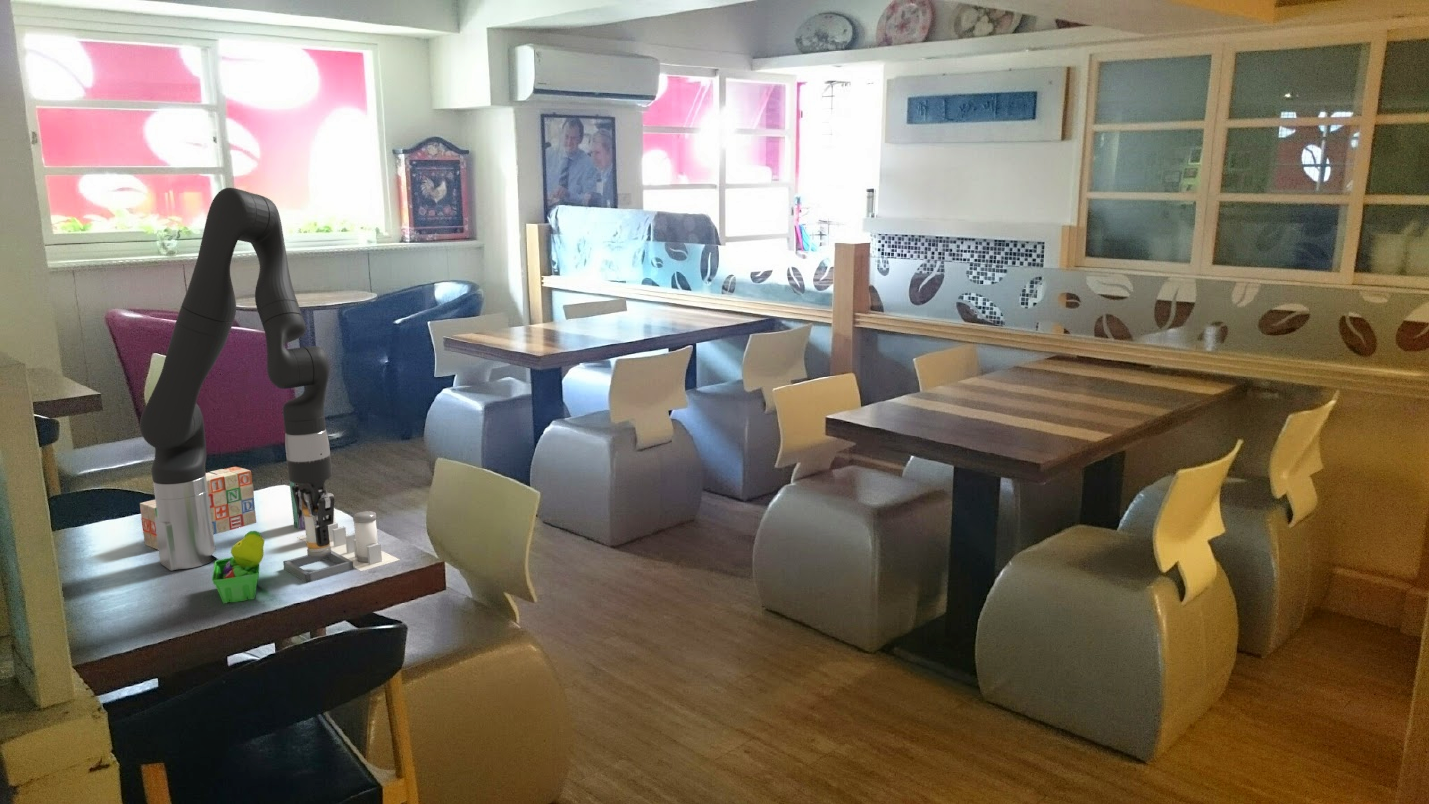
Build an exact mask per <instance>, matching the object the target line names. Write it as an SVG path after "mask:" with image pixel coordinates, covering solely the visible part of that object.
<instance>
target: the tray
mask: <svg viewBox="0 0 1429 804" xmlns="http://www.w3.org/2000/svg"><path fill="white" fill-rule="evenodd" d="M324 560H329V561H331V562H332V563H335V564H333V565H331V566H327V567H323V568H320V569H316V570H313V571H309V572H308V571H307V570H305V569H303V568H301V567H304V566H306V565H309V564H313V563H317V562H321V561H324ZM282 564H283V570H284V571H287V572H288V573H290V574H291V575H293V576H295V577H296V578H298V579H300V580H302V581H303V582H305V583H310V582H315V581H318V580H321V579H324V578H329V577H331V576H335V575H339V574H343V573H345V572H349V571H353V570H355V568H354V567H353V561H351V560H349V559H347V558H345V557H343V556H341V555H339V554H337V553H335V552H333V551H332V550H331V553H330V554H329V555H326V556H323V557H309V556H308V554H306V555H303V556H302V555H301V556H300V557H295V558H290V559H287V560H284V561H283V562H282Z"/></svg>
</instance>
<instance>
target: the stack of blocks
mask: <svg viewBox="0 0 1429 804" xmlns="http://www.w3.org/2000/svg"><path fill="white" fill-rule="evenodd" d="M206 480H207V488H208V496H209V504H210V512H211V520H212V528H213V536H214V535H218V534H222V533H224V532H229V531H232V530H237V529H239V527H240V528H242V527H246V526H247V527H248V526H250V525H253V524H256V523H257V515H256V514H257V513H256V506H255V498H254V497H255V493H254V484H253V482H252V481H253V479H252V472H251V470H249V469H246V468H242V467H238V466H233V467H228V468H224V469H223V468H220V469H217V470H212V471H209V472H206ZM139 509H140V517H141V518H140V519H141V526H142V532H143V540H144V545H146V546H148V547H150V548H153V549H156V550H158V551H159V548H158V541H157V534H156V526H155V517H158V515H157V508H156V501H155V499H151V500H147V501H144V502H139Z"/></svg>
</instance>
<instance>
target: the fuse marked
mask: <svg viewBox="0 0 1429 804" xmlns="http://www.w3.org/2000/svg"><path fill="white" fill-rule="evenodd" d="M314 511H318V509H314ZM303 515H304V520H305V529H306V531H305V535H306V539H307V541H306V542H305V543H306V551H307V554H306V555H308V556H309V557H323V556H326V555H329V554H330V553H331V546H330V543H329V544H328V545H326V546H322V547H319V546H317V543H316V534H315V526H314V521H313V517H312V516H310V515H309V511H308V507H305V508H303ZM323 520H324V517H323ZM305 529H304V530H305ZM328 531H329V529H328ZM329 540H330V537H329Z"/></svg>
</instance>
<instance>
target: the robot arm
mask: <svg viewBox="0 0 1429 804" xmlns="http://www.w3.org/2000/svg"><path fill="white" fill-rule="evenodd" d="M205 220H206V221H205V224H204V228H203V229H204V230H203V232H202V233H203V234H202V237H201V242H200V247H199V250H198V255H197V258H196V261H195V265H194V268H193V271H192V275H191V279H190V281H189V284H188V288H187V291H186V294H185V296H184V298H183V300H182V302H181V305H180V309H179V312H178V315H177V318H176V321H175V323H174V326H173V327H174V328H173V330H172V334H171V337H170V340H169V342H168V343H169V344H168V348H167V351H166V355H165V358H164V363H163V365H162V366H163V367H162V369H161V372H160V375H159V377H158V379H157V382H156V383H155V387H154V389H153V390H152V393H151V394H150V397H149V400H147V403H146V405H145V407H144V409H143V411H142V413H141V415H140V420H139V429H140V432H141V435H142V438H143V439H144V441H145V442H146V443H147V444H148V445H150V446H151V447H153V448H154V451H155V453H154V459H153V463H152V467H151V477H152V484H153V492H154V500H155V501H156V508H157V515H158V517H155V526H156V534H157V541H158V548H159V550H158V554H159V561H160V563H159V564H161V565H162V566H163V567H165V568H166V569H167V570H169V571H175V570H176V571H177V570H186V569H192V568H193V569H194V568H198V567H201V566H204V565H207V564H209V563H212V562H213V561H215V559H216V558H217V557H216V556H214V555H213V554H214V553H215V552H216V545H215V538H214V535H213V528H212V520H211V512H210V504H209V496H208V488H207V480H206V473H207V472H206V462H207V443H206V441H207V440H206V432H205V431H206V430H205V423H204V417H203V413H202V410H201V408H200V406H199V405H198V403H197V401H198V398H199V395H200V392H201V389H202V386H203V384H204V382H205V380H206V378H207V376H208V375H209V373H210V372H211V370H212V368H213V367H214V365H215V364H216V361H218V358H219V357H220V355H221V353H222V351H223V350H224V347H225V345H226V343H227V341H228V338H229V335H230V333H231V330H232V327H233V324H234V322H235V318H236V314H237V300H236V296H235V291H234V286H233V283H232V277H231V263H232V259H233V256H234V251H235V250H236V249H235V248H236V245H237V243H238V242H240V241H241V242H244V243H248V244H251V246H252V248H253V249H254V252H255V254H256V257H257V259H258V264H259V272H258V276H257V277H258V278H257V282H256V286H255V290H254V292H255V293H254V302H255V306H256V310H257V313H258V316H259V319H260V322H261V325H262V329H263V331H264V334H265V343H266V371H267V372H266V373H267V376H268V379H269V381H270V382H271V384H273V385H274V386H275V387H277V388H278V389H280V390H281V389H283V390H287V389H292V388H300V387H305V389H304V391H303V393H302V394H301V395H299V396H297V397H295V398H292V399H290V400H288V401H286V402H285V403H284V404H283V406H282V417H283V424H284V433H285V442H284V443H285V445H284V447H285V453H286V454H285V456H286V463H287V465H286V466H287V471H288V479H289V480H290V481H291V482H292V483H295V484H298V485H295V486H292V491H293V495H294V499H295V503H296V507H297V512H298V515H299V516H302V520H303V522H305V520H304V515H303V508H305V507H308V511H309V515H310V516H312V517H313V521H314V526H315V534H316V543H317V546H319V547H322V546H326V545H328V544H329V543H330V540H329V531H328V525H331V524H333V521H334V511H335V497H333V496H334V495H333V496H330V497H328V494H327V493H328V490H327V488H326V485H325V482H326V481H327V480H329V479H331V478H332V476H333V468H332V460H331V459H332V457H331V450H330V442H329V437H328V432H327V426H326V425H327V424H326V418H325V417H326V416H325V401H326V393H327V389H328V383H329V378H330V371H331V370H330V369H331V367H330V365H331V364H330V359H329V357H328V354H327V353H326V351H324V349H323V348H321V347H319V346H317V345H310V346H304V347H303V346H301V347H294V348H286V344H288V343H291V342H293V341H296V340H298V339H300V338H301V337H302V336H304V334H305V333H306V330H307V329H306V323H305V320H304V317H303V314H302V311H301V309H300V305H299V302H298V300H297V297H296V294H295V290H294V288H293V287H294V286H293V284H292V280H291V275H290V274H291V273H290V269H289V263H288V256H287V250H286V246H285V245H286V244H285V239H284V238H285V237H284V231H283V226H282V222H281V216H280V213H279V210H278V207H277V206H276V204H275V203H274V202H273V200H271V199H270V198H269V197H267V196H263V195H260V194H258V193H253V192H249V191H246V190H243V189H238V188H236V187H225V188H223V189H221V190H220V191H218V193H216V195H215V196H214V198H213V200H212V201H211V204H210V206H209V209H208V212H207V216H206V219H205ZM289 480H288V481H289ZM290 481H289V482H290ZM314 509H318V511H314ZM323 517H324V520H323ZM304 530H305V532H306V529H304Z"/></svg>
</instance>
